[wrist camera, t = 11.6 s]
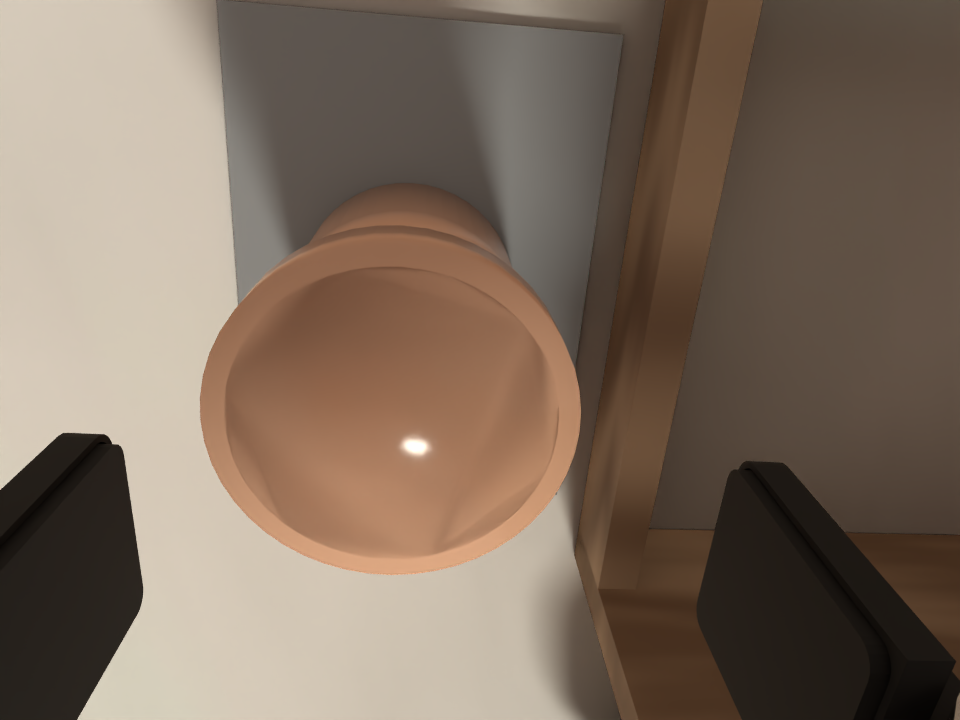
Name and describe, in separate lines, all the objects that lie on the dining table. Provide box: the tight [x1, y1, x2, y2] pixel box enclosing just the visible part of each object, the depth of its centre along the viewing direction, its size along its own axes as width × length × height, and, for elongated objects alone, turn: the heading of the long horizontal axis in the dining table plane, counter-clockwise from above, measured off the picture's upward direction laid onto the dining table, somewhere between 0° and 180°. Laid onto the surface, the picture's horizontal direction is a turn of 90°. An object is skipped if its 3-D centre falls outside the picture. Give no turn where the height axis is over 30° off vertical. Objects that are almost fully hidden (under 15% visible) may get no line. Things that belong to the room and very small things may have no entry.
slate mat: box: [217, 0, 623, 495], centre depth 20 cm, size 14×10×1 cm
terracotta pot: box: [200, 183, 581, 575], centre depth 16 cm, size 7×7×8 cm
